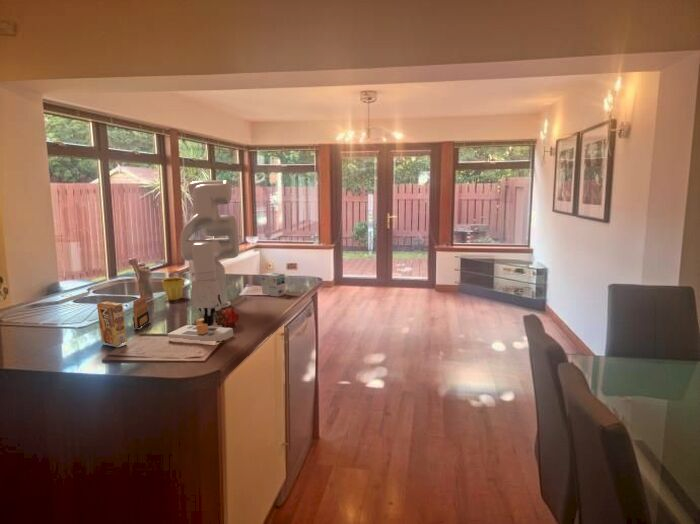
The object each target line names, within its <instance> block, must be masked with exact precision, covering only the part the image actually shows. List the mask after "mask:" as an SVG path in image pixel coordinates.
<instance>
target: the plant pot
mask: <svg viewBox="0 0 700 524" xmlns="http://www.w3.org/2000/svg"><path fill="white" fill-rule="evenodd" d="M161 285H162V286H161V287H162V288H163V289H164V292H165V295H166V298H167V300H169V301H175V300H180V299H182V298H183V297H182V296H183V291H184V290H183V289H184V286H185V279H184V278H183V277H169V278H164V279H162V280H161Z"/></svg>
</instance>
